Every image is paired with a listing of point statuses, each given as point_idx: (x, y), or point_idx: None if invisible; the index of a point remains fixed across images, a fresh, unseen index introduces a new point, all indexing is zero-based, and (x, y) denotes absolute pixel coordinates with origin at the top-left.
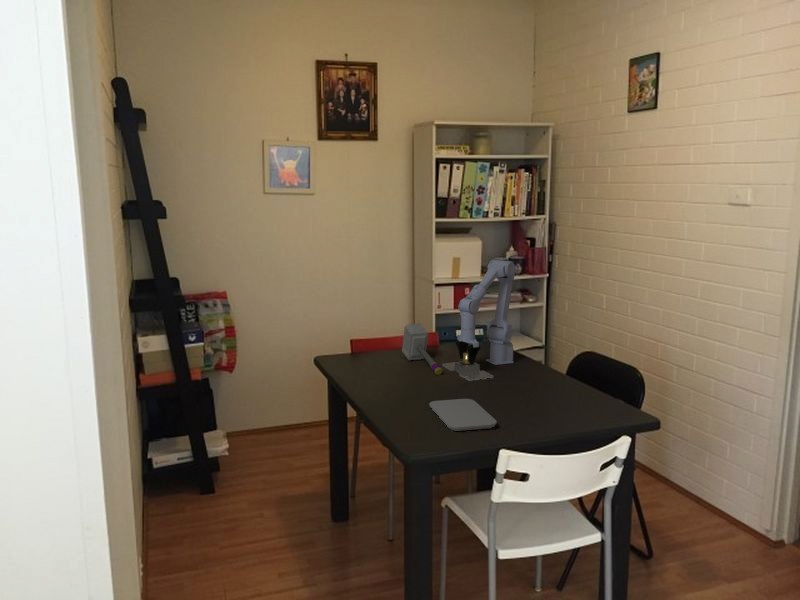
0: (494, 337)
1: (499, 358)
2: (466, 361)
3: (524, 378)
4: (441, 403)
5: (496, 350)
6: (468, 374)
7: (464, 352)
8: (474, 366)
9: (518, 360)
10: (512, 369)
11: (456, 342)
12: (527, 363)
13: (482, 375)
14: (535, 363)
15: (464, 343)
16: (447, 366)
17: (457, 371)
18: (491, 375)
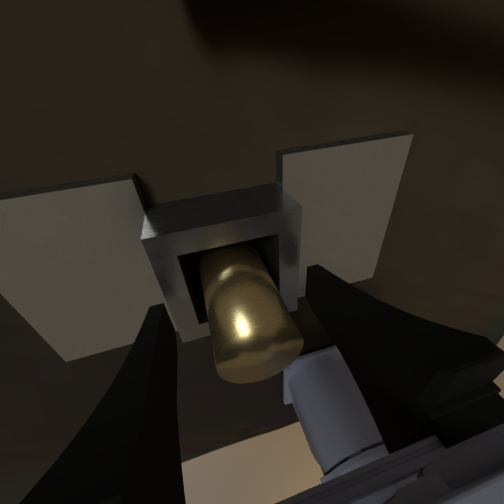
0: (380, 492)
1: (298, 394)
2: (210, 290)
3: (75, 433)
4: None
5: (322, 423)
6: (88, 239)
7: (282, 336)
8: (171, 311)
9: None
10: (215, 399)
11: (470, 367)
12: (268, 422)
13: (65, 315)
14: (260, 433)
15: (393, 411)
16: (338, 147)
17: (236, 190)
18: (68, 354)
